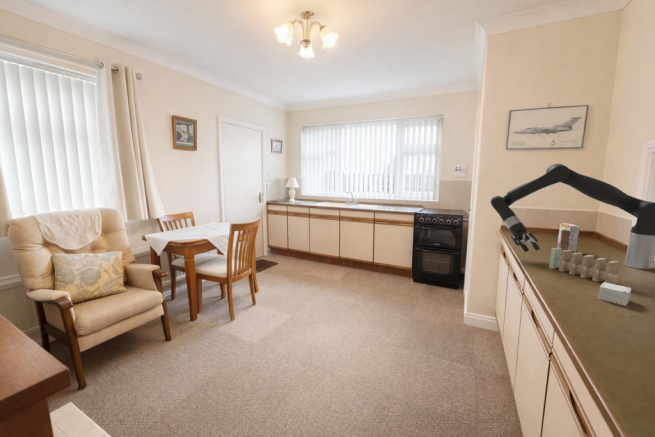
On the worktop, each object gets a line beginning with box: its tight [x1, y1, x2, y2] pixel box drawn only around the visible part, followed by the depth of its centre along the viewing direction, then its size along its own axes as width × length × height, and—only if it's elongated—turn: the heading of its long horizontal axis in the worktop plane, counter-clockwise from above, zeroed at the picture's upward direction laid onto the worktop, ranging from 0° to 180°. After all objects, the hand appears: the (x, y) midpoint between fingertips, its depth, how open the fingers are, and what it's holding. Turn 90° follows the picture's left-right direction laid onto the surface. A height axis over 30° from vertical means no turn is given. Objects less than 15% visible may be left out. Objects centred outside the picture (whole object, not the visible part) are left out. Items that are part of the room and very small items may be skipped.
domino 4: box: [579, 254, 595, 279], centre depth 131 cm, size 2×5×10 cm, turn 110°
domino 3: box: [568, 252, 584, 276], centre depth 135 cm, size 2×5×10 cm, turn 110°
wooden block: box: [559, 230, 574, 259], centre depth 163 cm, size 7×3×15 cm, turn 57°
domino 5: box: [591, 257, 608, 283], centre depth 127 cm, size 2×5×10 cm, turn 110°
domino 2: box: [558, 250, 572, 273], centre depth 140 cm, size 2×5×10 cm, turn 111°
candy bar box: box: [556, 222, 581, 253], centre depth 174 cm, size 11×5×16 cm, turn 168°
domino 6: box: [604, 260, 621, 285], centre depth 123 cm, size 2×5×10 cm, turn 111°
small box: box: [597, 281, 632, 307], centre depth 108 cm, size 8×8×5 cm
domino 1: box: [548, 247, 562, 270], centre depth 144 cm, size 2×5×10 cm, turn 111°
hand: (532, 250), depth 154 cm, fingers open, 8 cm apart
